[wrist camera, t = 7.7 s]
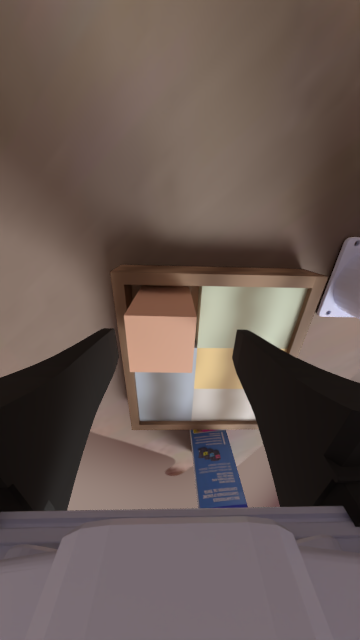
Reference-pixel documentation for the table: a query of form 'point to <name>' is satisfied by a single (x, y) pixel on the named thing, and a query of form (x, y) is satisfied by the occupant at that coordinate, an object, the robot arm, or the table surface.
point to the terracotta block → (161, 330)
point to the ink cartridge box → (215, 471)
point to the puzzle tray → (205, 278)
